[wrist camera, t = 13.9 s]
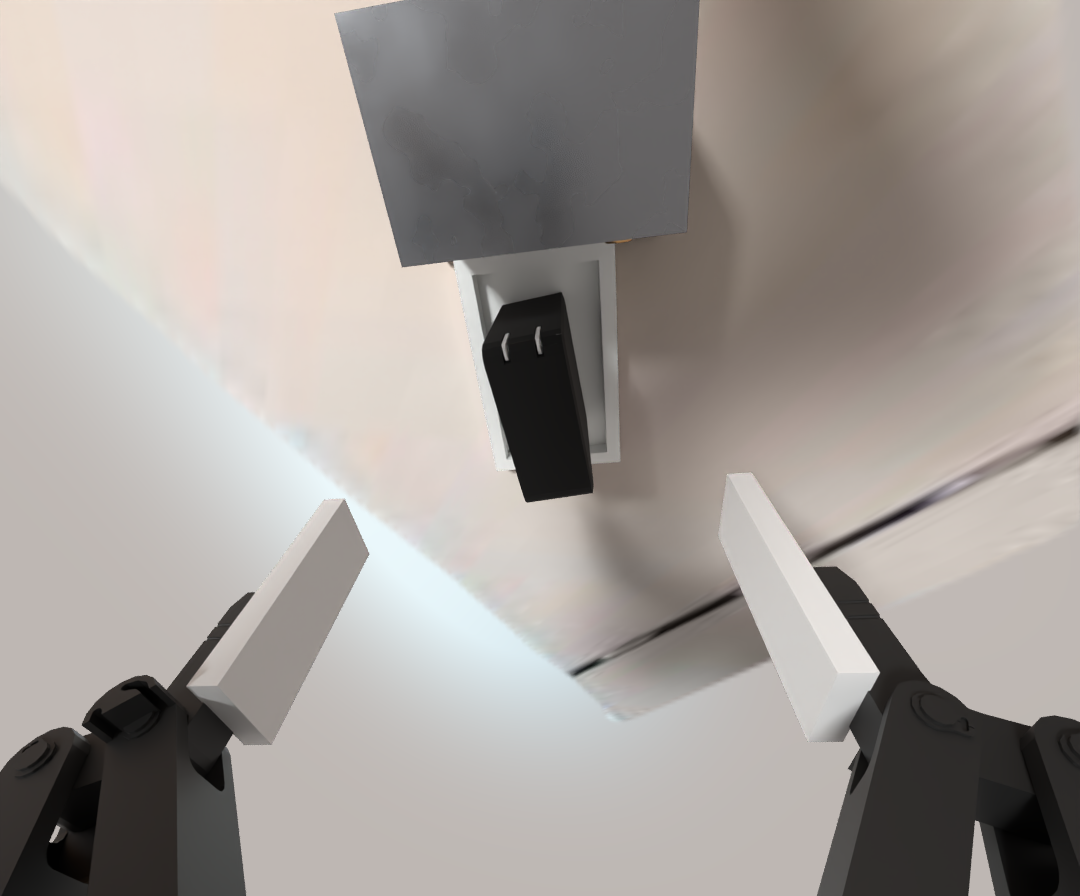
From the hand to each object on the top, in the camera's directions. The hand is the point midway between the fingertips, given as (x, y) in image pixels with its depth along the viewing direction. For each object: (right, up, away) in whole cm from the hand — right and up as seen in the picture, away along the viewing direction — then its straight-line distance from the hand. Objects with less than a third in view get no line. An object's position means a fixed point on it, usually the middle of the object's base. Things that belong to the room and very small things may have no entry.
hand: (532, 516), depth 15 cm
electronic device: (+1, +9, +17) cm, 19 cm away
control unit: (0, +20, +10) cm, 22 cm away
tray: (+1, +9, +17) cm, 19 cm away
